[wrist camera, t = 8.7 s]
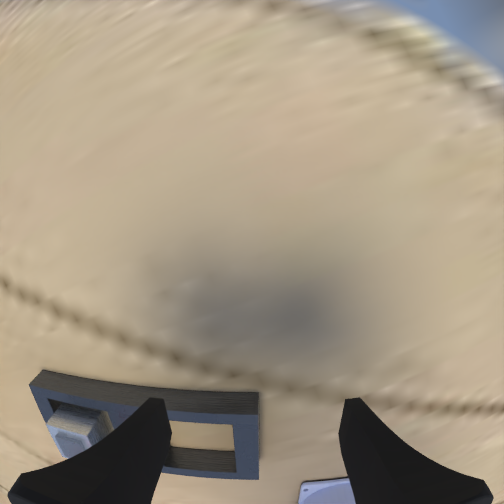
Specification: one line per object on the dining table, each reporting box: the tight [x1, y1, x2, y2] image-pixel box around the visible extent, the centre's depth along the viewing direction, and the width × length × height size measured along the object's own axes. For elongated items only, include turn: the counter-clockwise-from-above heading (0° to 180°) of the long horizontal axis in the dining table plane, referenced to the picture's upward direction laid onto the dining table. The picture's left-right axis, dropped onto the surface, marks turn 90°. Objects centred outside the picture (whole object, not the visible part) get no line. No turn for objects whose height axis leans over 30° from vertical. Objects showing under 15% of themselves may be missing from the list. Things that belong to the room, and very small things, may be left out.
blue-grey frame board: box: [29, 370, 259, 480], centre depth 22 cm, size 8×19×2 cm, turn 91°
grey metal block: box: [46, 402, 114, 459], centre depth 21 cm, size 4×4×5 cm
